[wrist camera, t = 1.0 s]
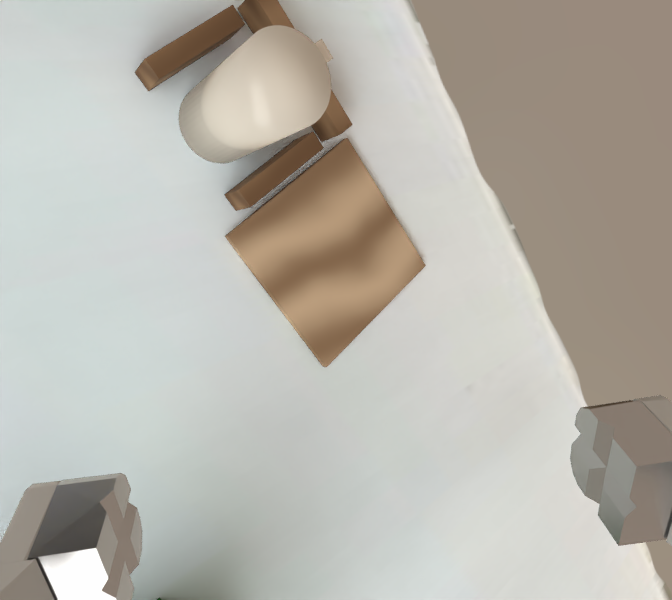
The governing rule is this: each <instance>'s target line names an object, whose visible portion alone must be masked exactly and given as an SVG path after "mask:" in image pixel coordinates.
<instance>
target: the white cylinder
mask: <svg viewBox="0 0 672 600" xmlns="http://www.w3.org/2000/svg"><path fill="white" fill-rule="evenodd" d="M331 59H333V57H332V56H331V54H330V52H329V50H328V49H327V47H326V45H325V44H324V42H323V40H322V39H321V40H319V41H318V42H316V43H315V44H314V43H313V42H312V41H311V40H310V39H309V38H308V37H307V36H306V35H304V34H303V33H301V32H300V31H298V30H296V29H293V28H291V27H287V26H282V25H273V26H268V27H265V28H262V29H260V30H259V31H257V32H256V33H254V34H253V35H252V36H251V37H250V38H249V39H248V40H247V41H245V42H244V43H243V44H242V45H241V46H240V47H239V48H238V49H236V50H235V51H234V52H233V53H232V54H231V55H230V56H229V57H228V58H226V59H225V60H224V61H223V62H222V63H221V64H220V65H219V66H218V67H216V68H215V69H214V70H213V71H212V72H211V73H210V74H209V75H208V76H206V77H205V78H204V79H203V80H202V81H201V82H200V83H199V84H198V85H196V86H195V87H194V88H193V89H192V90H191V91H190V92H189V93H188V94H187V95H186V96H185V98H184V99H183V101H182V103H181V106H180V110H179V126H180V130H181V133H182V136H183V138H184V140H185V142H186V143H187V145H188V146H189V147H190V148H191V150H192V151H194V152H195V153H196V154H197V155H198V156H200V157H201V158H203V159H205V160H207V161H210V162H213V163H229V162H233V161H235V160H237V159H239V158H242V157H244V156H246V155H248V154H250V153H253V152H255V151H257V150H259V149H261V148H263V147H266V146H268V145H270V144H272V143H274V142H276V141H279V140H281V139H283V138H285V137H287V136H289V135H292V134H294V133H296V132H298V131H300V130H302V129H305V128H307V127H309V126H311V125H313V124H314V123H316V122H317V121H318V120H319V119H320V118H321V116H322V115H323V114H324V112H325V110H326V108H327V106H328V104H329V100H330V95H331V78H330V73H329V69H328V66H327V62H329V61H330V60H331Z"/></svg>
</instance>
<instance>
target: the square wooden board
mask: <svg viewBox="0 0 672 600" xmlns="http://www.w3.org/2000/svg"><path fill="white" fill-rule="evenodd" d="M225 237H226V239H227V240H228V241H229V243H230V244H231V245H232V247H233V248H234V249H235V250H236V252H237V253H238V254H239V256H240V257H241V258H242V260H243V261H244V262H245V264H246V265H247V266H248V268H249V269H250V270H251V272H252V273H253V274H254V276H255V277H256V278H257V280H258V281H259V282H260V284H261V285H262V286H263V288H264V289H265V290H266V292H267V293H268V294H269V296H270V297H271V298H272V300H273V301H274V302H275V304H276V305H277V306H278V308H279V309H280V310H281V311H282V313H283V314H284V315H285V317H286V318H287V319H288V321H289V322H290V323H291V325H292V326H293V327H294V329H295V330H296V331H297V333H298V334H299V335H300V337H301V338H302V339H303V341H304V342H305V343H306V345H307V346H308V347H309V349H310V350H311V351H312V353H313V354H314V355H315V357H316V358H317V359H318V361H319V362H320V363H321V365H322V366H323V367H327V366H328V365H329V364H330V363H331V362H332V361H333V360H334V359H335V358H336V357H337V356H338V355H339V354H340V353H341V352H342V351H343V350H344V349H345V348H346V347H347V346H348V345H349V344H350V343H351V342H352V341H353V339H354V338H355V337H356V336H357V335H358V334H359V333H360V332H361V331H362V330H363V329H364V328H365V327H366V326H367V325H368V324H369V323H370V322H371V321H372V320H373V319H374V318H375V317H376V316H377V315H378V314H379V313H380V312H381V311H382V310H383V309H384V308H385V307H386V306H387V305H388V304H389V303H390V302H391V301H392V300H393V299H394V297H395V296H396V295H397V294H398V293H399V292H400V291H401V290H402V289H403V288H404V287H405V286H406V285H407V284H408V283H409V282H410V281H411V280H412V279H413V278H414V277H415V276H416V275H417V274H418V273H419V272H420V271H421V270H422V269H423V268H424V267H425V266H426V265H425V264H424V262H423V261H422V259H421V257H420V256H419V254H418V252H417V251H416V249H415V247H414V246H413V244H412V243H411V241H410V239H409V238H408V236H407V234H406V233H405V231H404V230H403V228H402V226H401V225H400V223H399V221H398V220H397V218H396V217H395V215H394V213H393V212H392V210H391V208H390V207H389V205H388V203H387V202H386V200H385V199H384V197H383V195H382V194H381V192H380V190H379V189H378V187H377V186H376V184H375V182H374V181H373V179H372V177H371V176H370V174H369V172H368V171H367V169H366V168H365V166H364V164H363V163H362V161H361V159H360V158H359V156H358V155H357V153H356V151H355V150H354V148H353V146H352V145H351V143H350V141H349V140H348V138H346V139H343V140H342V141H341V142H340V143H338V144H337V145H336V146H335V147H334V148H332V149H331V150H330V151H329V152H327V153H326V154H325V155H324V156H323V157H321V158H320V159H319V160H318V161H316V162H315V163H314V164H313V165H312V166H310V167H309V168H308V169H307V170H305V171H304V172H303V173H302V174H301V175H299V176H298V177H297V178H296V179H294V180H293V181H292V182H291V183H290V184H288V185H287V186H286V187H285V188H283V189H282V190H281V191H280V192H278V193H277V194H276V195H275V196H274V197H272V198H271V199H270V200H269V201H267V202H266V203H265V204H264V205H263V206H261V207H260V208H259V209H258V210H256V211H255V212H254V213H253V214H252V215H250V216H249V217H248V218H247V219H245V220H244V221H243V222H242V223H241V224H239V225H238V226H237V227H236V228H234V229H233V230H232V231H231V232H230V233H228V234H227V235H226V236H225Z"/></svg>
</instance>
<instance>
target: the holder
mask: <svg viewBox="0 0 672 600" xmlns="http://www.w3.org/2000/svg"><path fill="white" fill-rule="evenodd" d="M238 10H239V12H240V13H241V15H242V17H243V18H244V20H245V21H246V23H247V24H248V26H249V28H250V29H251V31H252V32H253V34H254V33H256V32H257V31H259V30H260V29H262V28H265V27H268V26H273V25H282V26H287V27H291V28H293V29H295V28H294V27H293V25H292V23H291V22H290V20H289V19H288V17H287V15H286V14H285V12H284V10H283V9H282V7H281V5H280V4H279V2H278V0H245V1H244V2H243V3H242V4H241V5H240V6H239V7H238ZM244 25H245V23H244V22H243V20H242V19H241V17H240V15H239V14H238V12H237V11H236V9H235V8H234V6H233V5H231V6H230V7H228V8H227V9H225V10H223V11H222V12H220V13H218V14H217V15H215V16H214V17H212V18H210V19H209V20H207V21H205V22H204V23H202V24H201V25H199V26H197V27H196V28H194V29H192V30H191V31H189V32H188V33H186V34H184V35H183V36H181V37H179V38H178V39H176V40H175V41H173V42H171V43H170V44H168V45H166V46H165V47H163V48H162V49H160V50H158V51H157V52H155V53H154V54H152V55H150V56H149V57H147V58H145V59H144V61H143V62H142V63H141V65H140V66H139V67H138V69H137V70H136V71H135V73H136V75H137V76H138V78H139V79H140V80H141V82H142V83H143V84H144V86H145V87H146V88H147V90H148V91H150V90H151V89H153V88H154V87H156V86H158V85H159V84H161V83H162V82H164V81H165V80H167V79H168V78H170V77H172V76H173V75H175V74H176V73H178V72H179V71H181V70H182V69H184V68H185V67H187V66H189V65H190V64H192V63H193V62H195V61H196V60H198V59H199V58H201V57H203V56H204V55H206V54H207V53H209V52H210V51H212V50H213V49H215V48H216V47H218V46H220V45H221V44H223V43H224V42H226V41H227V40H229V39H230V38H231V37H232V36H233V35H234V34H236V33H237V32H238V31H239V30H240V29H241V28H242V27H243V26H244ZM351 125H352V123H351V121H350V120H349V118H348V116H347V115H346V113H345V111H344V110H343V108H342V106H341V105H340V103H339V101H338V100H337V98H336V96H335V95H334V93H333V91H332V90H331V95H330V100H329V104H328V106H327V108H326V110H325V112H324V114H323V115H322V116H321V118H320V119H319V120H318V121H317V122H316V123H314V124H313V125H311V126H312V127H313V129H314V130H315V132H316V133H317V135H318V137H319V138H320V140H321V141H322V142H323V141H325V140H328V139H330V138H333V137H335V136H338V135H340V134H342V133H343V132H344V131H345V130H346V129H348V128H349V127H350V126H351ZM322 149H323V146H322V145H321V143H320V141H319V140H318V138H317V137H316V135H315V134H314V132H311V133H309V134H307V135H304V136H302V137H300V138H297V139H295V140H294V141H293V142H292V143H290V144H289V145H288V146H286V147H285V148H284V149H283V150H281V151H280V152H279V153H277V154H276V155H275V156H274V157H272V158H271V159H270V160H268V161H267V162H266V163H265V164H263V165H262V166H261V167H259V168H258V169H257V170H256V171H254V172H253V173H252V174H251V175H249V176H248V177H247V178H245V179H244V180H243V181H242V182H240V183H239V184H238V185H236V186H235V187H234V188H233V189H231V190H230V191H229V192H227V193H226V194H225V197H226V198H227V199H228V201H229V202H230V203H231V205H232V206H233V207H234V209H235V210H236V211H237V210H241V209H245V208H248V207H251V206H253V205H254V204H255V203H256V202H258V201H259V200H260V199H261V198H262V197H264V196H265V195H266V194H267V193H269V192H270V191H271V190H272V189H274V188H275V187H276V186H277V185H279V184H280V183H281V182H282V181H283V180H285V179H286V178H287V177H288V176H290V175H291V174H292V173H293V172H295V171H296V170H297V169H298V168H300V167H301V166H302V165H303V164H304V163H306V162H307V161H308V160H309V159H311V158H312V157H313V156H314V155H316V154H317V153H318V152H319V151H321V150H322Z"/></svg>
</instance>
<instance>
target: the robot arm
mask: <svg viewBox="0 0 672 600" xmlns="http://www.w3.org/2000/svg"><path fill="white" fill-rule="evenodd" d="M575 426H576V428H577V429H578V430H579V432H580V433H581V434H580V435H579V437H578V438H577V439H576V440H575V441H574V442H573V443H572V446H571V456H570V460H571V466H572V471H573V475H574V477H575V479H576V482H577V484H578V486H579V487H580V489H581V490H582V492H583V494H584V495H585V496H587V497H588V498H590V499H592V500H594V501H595V502H597V503H599V504H600V505H599V511H598V516H599V518H600V519H601V521H602V522H603V523H604V525H605V526H606V528H607V529H608V531H609V532H610V534H611V535H612V537H613V538H614V540H615V541H616V543H617V544H618V546H620V545H628V544H635V543H643V542H651V541H658V540H665V539H667V541H666V542H667V543H669V544H670V545H671V546H672V401H671V400H669V399H668V398H666V397H664V396H661V395H659V396H651V397H646V398H639V399H634V400H632V401H631V400H629V401H622V402H616V403H609V404H602V405H596V406H589V407H582V408H580V410H579V411H578V413H577V415H576V420H575ZM130 491H131V488H130V485H129V483H128V480H127V477H126V475H124V474H122V473H117V474H108V475H100V476H91V477H83V478H74V479H66V480H62V481H54V482H46V483H37V484H32V485H31V486H30V487H29V488H27V489H26V491H25V492H24V494H23V496H22V498H21V500H20V503H19V505H18V507H17V509H16V511H15V513H14V515H13V517H12V519H11V521H10V524H9V526H8V528H7V530H6V532H5V534H4V536H3V538H2V540H1V543H0V600H132V596H133V591H134V586H133V583H132V580H131V577H130V574H131V573H132V571H133V570H134V569H135V568H136V567H137V566H138V565H139V562H140V556H141V551H142V527H141V520H140V516H139V513H138V509H137V508H136V507H135V506H133V505H132V504H130V503H129V502H128V499H129V495H130Z"/></svg>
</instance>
